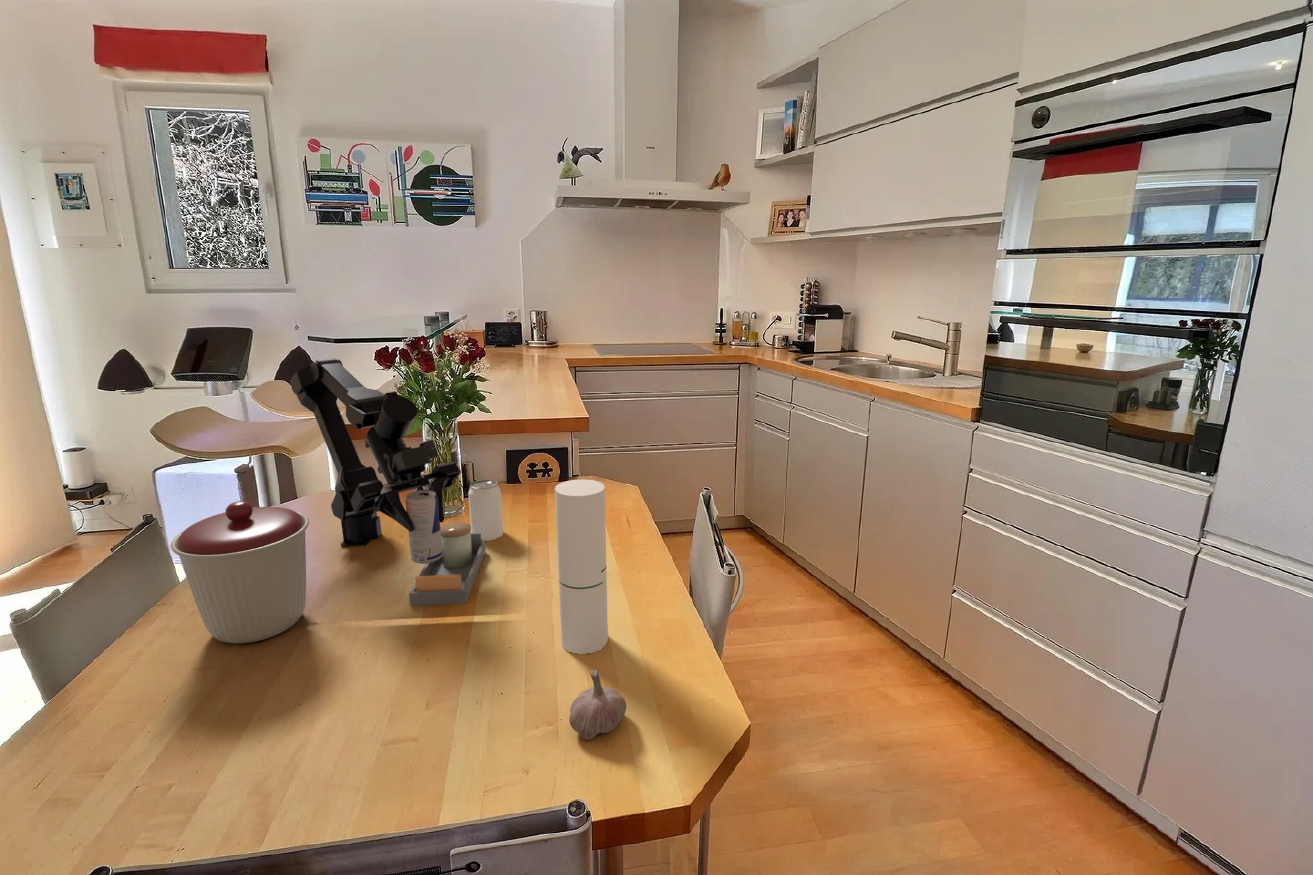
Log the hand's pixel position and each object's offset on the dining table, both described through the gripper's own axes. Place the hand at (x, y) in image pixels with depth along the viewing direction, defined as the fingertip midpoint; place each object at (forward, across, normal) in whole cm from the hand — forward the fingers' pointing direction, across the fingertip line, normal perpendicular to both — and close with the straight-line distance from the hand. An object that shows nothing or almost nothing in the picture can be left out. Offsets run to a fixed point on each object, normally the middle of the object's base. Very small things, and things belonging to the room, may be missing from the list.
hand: (427, 525), depth 116 cm
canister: (+3, -26, +14) cm, 30 cm away
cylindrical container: (+32, +6, -16) cm, 36 cm away
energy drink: (+4, 0, +6) cm, 7 cm away
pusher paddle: (+13, -3, +2) cm, 13 cm away
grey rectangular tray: (+9, +3, +7) cm, 12 cm away
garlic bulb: (+43, -5, -26) cm, 51 cm away
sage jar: (+5, +7, +10) cm, 13 cm away
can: (+1, +18, +16) cm, 24 cm away
